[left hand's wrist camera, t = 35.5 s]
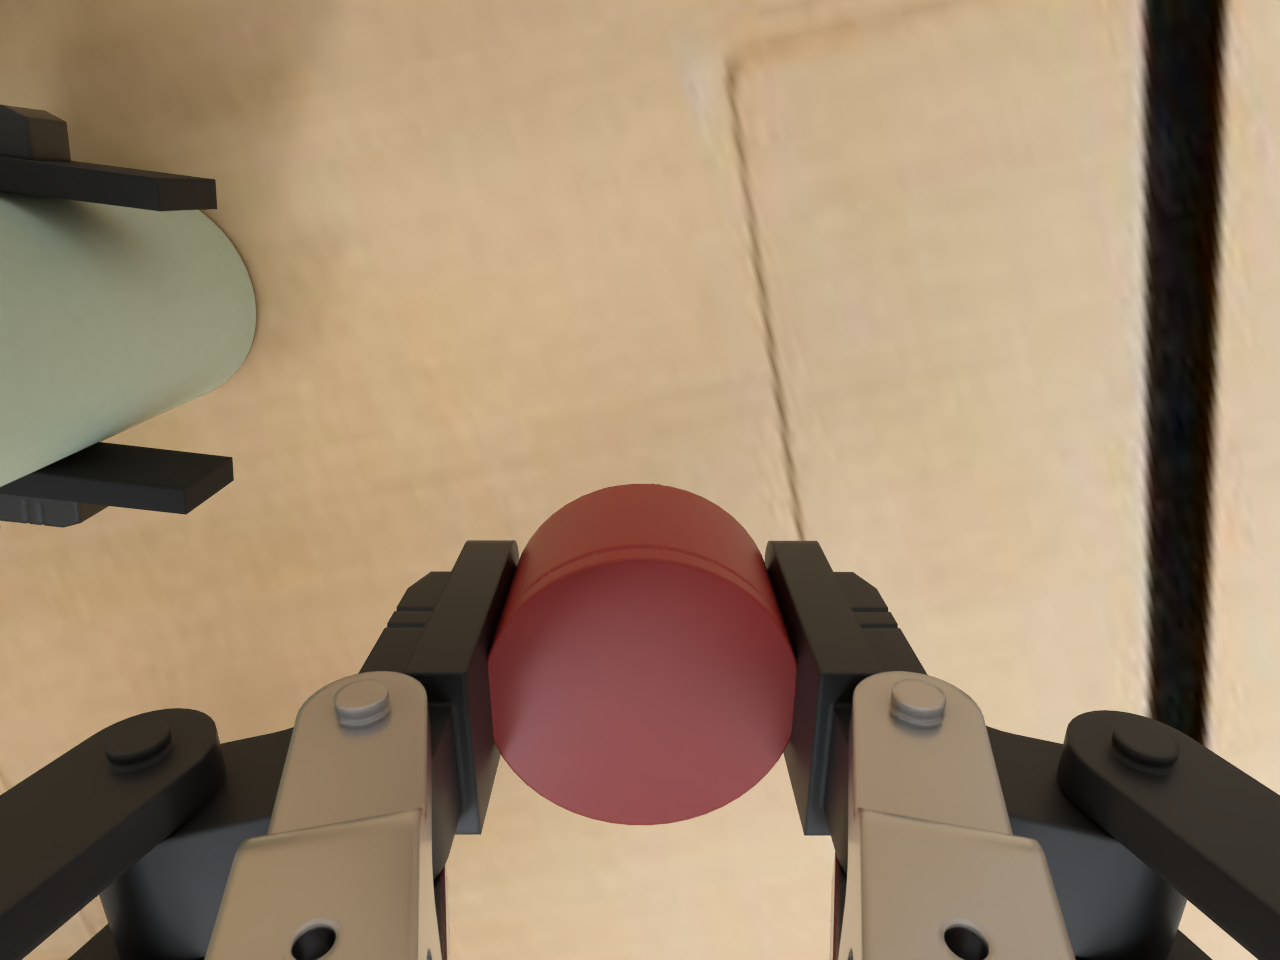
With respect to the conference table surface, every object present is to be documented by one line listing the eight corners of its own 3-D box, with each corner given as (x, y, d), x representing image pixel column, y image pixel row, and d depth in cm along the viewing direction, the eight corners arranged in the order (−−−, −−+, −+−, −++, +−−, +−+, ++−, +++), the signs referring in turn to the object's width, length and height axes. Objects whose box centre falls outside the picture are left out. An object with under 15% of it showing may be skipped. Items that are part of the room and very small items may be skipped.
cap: (808, 653, 12) (847, 763, 10) (584, 741, 13) (572, 864, 11) (707, 437, 11) (724, 506, 9) (465, 546, 12) (421, 637, 9)
